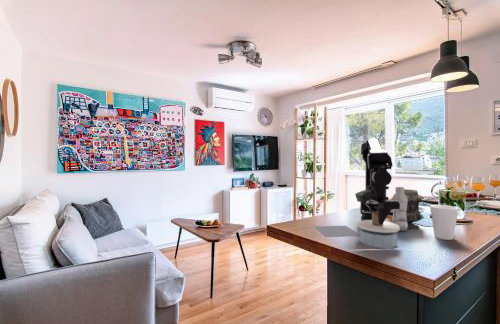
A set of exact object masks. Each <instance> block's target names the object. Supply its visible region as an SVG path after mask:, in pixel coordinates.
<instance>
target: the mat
mask: <svg viewBox="0 0 500 324" xmlns="http://www.w3.org/2000/svg"><path fill="white" fill-rule="evenodd" d="M313 227H314V228H315V229H316V230H317V231H319V232H320V234H321V235H323V236H324V237H325V238H330V237H331V238H332V237H334V238H335V237H338V238H339V237H360V232H359V233H358V232H357V231H356V230H354V229H352V228H351V227H349V226H347V225H323V226H322V225H319V226H318V225H315V226H313Z"/></svg>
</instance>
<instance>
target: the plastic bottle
mask: <svg viewBox="0 0 500 324" xmlns="http://www.w3.org/2000/svg"><path fill="white" fill-rule="evenodd" d="M404 189H405V187H404V186H401V187H400V186H395V190H394V191H395V193H394V194H393V195H392V197H391V200H395V201H398V202H399V203H400V209H392V213H393V214H392V221H391V223H394V224H396V225H398V226H399V227H400V230H399V231H398V232H406V231H407V230H408V229H407V228H408V223H407V216H406V211H407V203H408V198H407V196H406V195H405V194H404V192H405V191H404Z"/></svg>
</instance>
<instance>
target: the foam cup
mask: <svg viewBox="0 0 500 324" xmlns="http://www.w3.org/2000/svg"><path fill="white" fill-rule="evenodd" d="M429 212H430V213H431V219H432V220H431V221H432V228H433V235H434V237H435V238H437V239H440V240H446V241H448V240H449V241H452V240H454V236H455V232H456V231H455V230H456V226H457V219H458V215H459V207H457V206H454V205H453V206H452V205H446V204H430V211H429Z"/></svg>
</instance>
